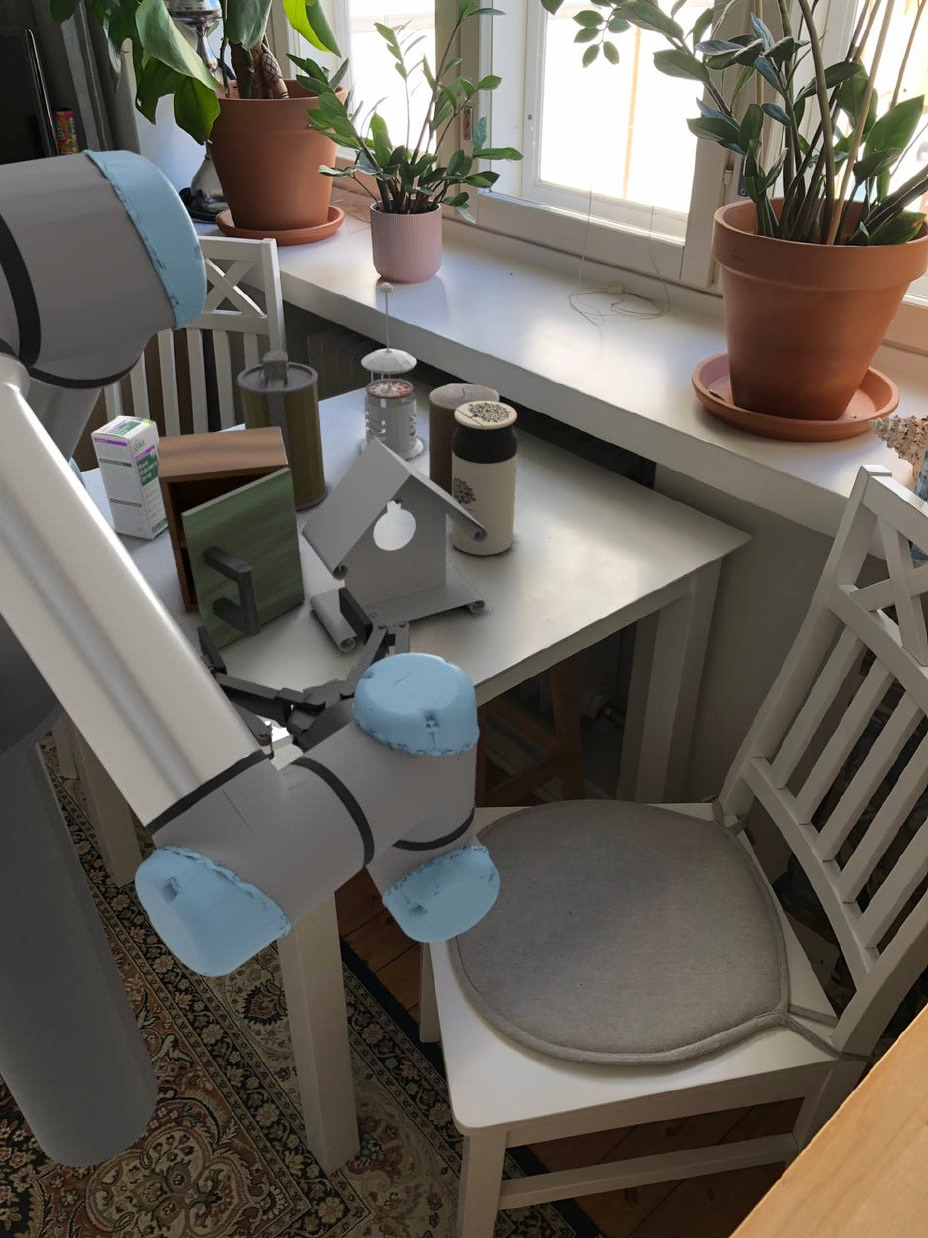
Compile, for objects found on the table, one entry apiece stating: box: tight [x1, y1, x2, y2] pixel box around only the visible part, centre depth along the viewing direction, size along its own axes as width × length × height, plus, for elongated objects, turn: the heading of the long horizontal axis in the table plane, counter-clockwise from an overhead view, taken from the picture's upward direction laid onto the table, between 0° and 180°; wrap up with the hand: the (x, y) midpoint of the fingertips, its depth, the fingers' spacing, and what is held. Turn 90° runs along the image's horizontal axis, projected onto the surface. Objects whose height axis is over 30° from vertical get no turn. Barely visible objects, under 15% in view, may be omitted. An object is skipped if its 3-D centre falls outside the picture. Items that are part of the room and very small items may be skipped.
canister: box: [236, 350, 328, 512], centre depth 125 cm, size 11×10×20 cm
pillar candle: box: [428, 383, 500, 497], centre depth 130 cm, size 10×10×15 cm
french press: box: [360, 282, 424, 461], centre depth 137 cm, size 10×12×25 cm
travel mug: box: [451, 401, 519, 556], centre depth 116 cm, size 8×8×18 cm
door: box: [181, 467, 306, 651], centre depth 99 cm, size 7×14×17 cm, turn 139°
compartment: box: [158, 426, 288, 613], centre depth 108 cm, size 10×14×18 cm
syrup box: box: [90, 415, 168, 540], centre depth 119 cm, size 6×6×14 cm
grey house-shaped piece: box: [301, 437, 488, 653], centre depth 103 cm, size 18×10×20 cm, turn 117°
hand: (274, 617), depth 87 cm, fingers open, 13 cm apart
